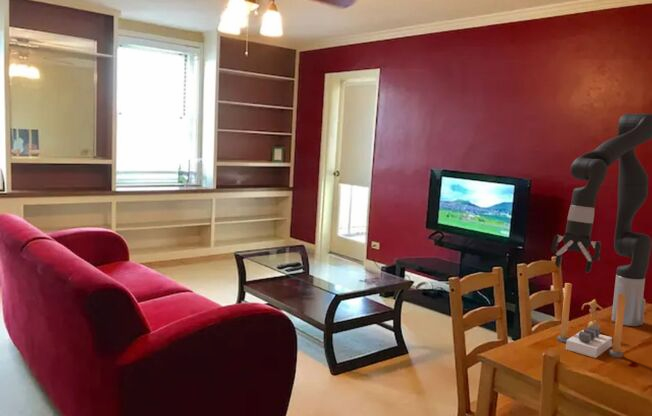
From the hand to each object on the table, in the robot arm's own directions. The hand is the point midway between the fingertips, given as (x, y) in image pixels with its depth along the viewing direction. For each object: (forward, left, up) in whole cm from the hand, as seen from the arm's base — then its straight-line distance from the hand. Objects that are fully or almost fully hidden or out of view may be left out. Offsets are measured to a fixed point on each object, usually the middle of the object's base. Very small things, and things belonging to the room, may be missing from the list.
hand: (572, 269), depth 177 cm
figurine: (-13, -8, -24) cm, 28 cm away
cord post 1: (+1, +1, -24) cm, 24 cm away
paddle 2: (-7, +3, -20) cm, 22 cm away
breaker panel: (-5, +6, -24) cm, 25 cm away
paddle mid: (-5, +6, -20) cm, 22 cm away
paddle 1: (-2, +9, -20) cm, 22 cm away
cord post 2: (-10, +12, -24) cm, 28 cm away
